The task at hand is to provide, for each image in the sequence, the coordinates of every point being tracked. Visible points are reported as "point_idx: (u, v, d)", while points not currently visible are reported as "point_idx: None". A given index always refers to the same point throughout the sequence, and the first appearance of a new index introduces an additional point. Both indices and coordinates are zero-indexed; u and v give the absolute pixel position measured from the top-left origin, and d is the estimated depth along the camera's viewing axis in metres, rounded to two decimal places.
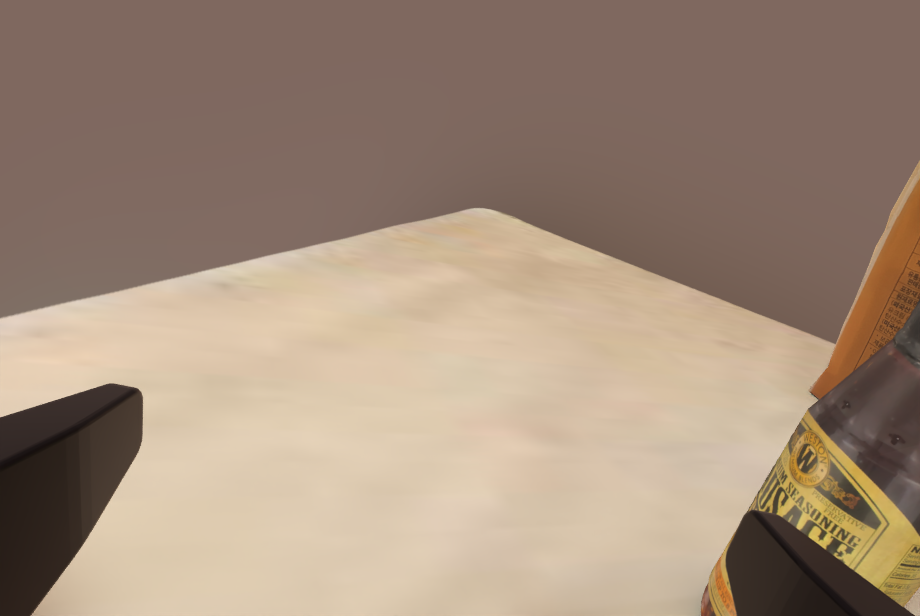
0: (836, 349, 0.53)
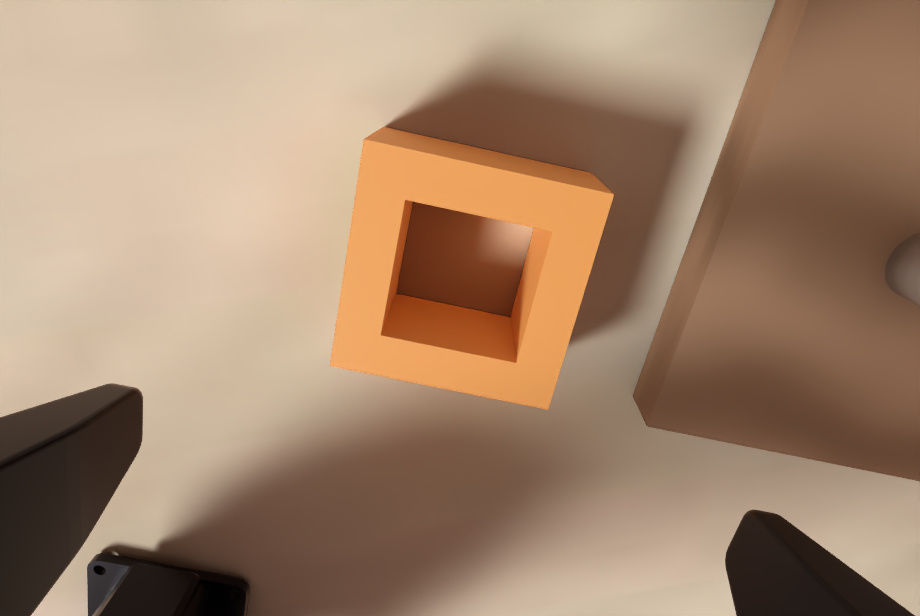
0: None
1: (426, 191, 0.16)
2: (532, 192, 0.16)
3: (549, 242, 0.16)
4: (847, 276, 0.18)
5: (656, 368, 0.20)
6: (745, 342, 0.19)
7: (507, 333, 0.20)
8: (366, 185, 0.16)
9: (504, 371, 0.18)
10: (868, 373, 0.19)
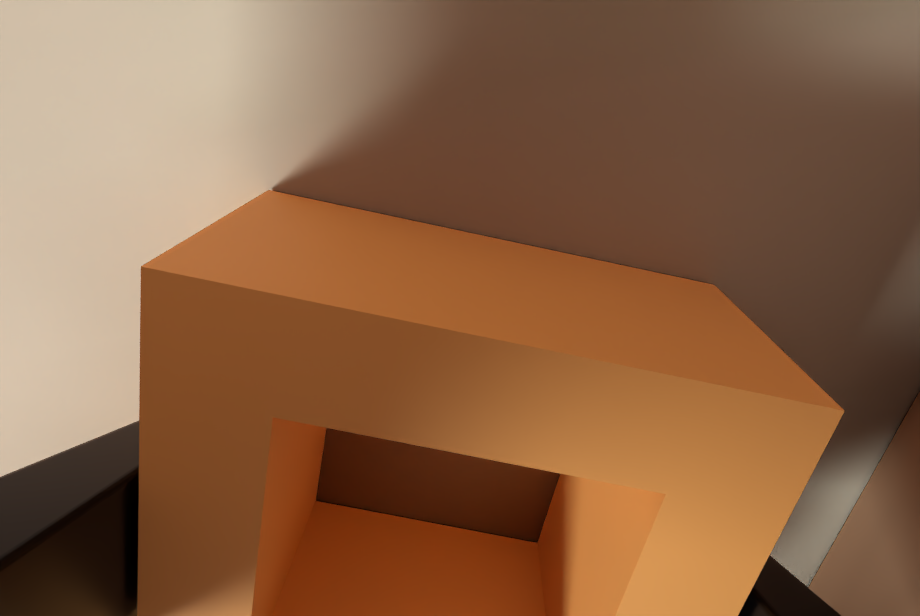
0: None
1: (328, 399, 0.06)
2: (619, 402, 0.06)
3: (655, 516, 0.06)
4: None
5: None
6: None
7: (534, 609, 0.10)
8: (165, 382, 0.06)
9: None
10: None
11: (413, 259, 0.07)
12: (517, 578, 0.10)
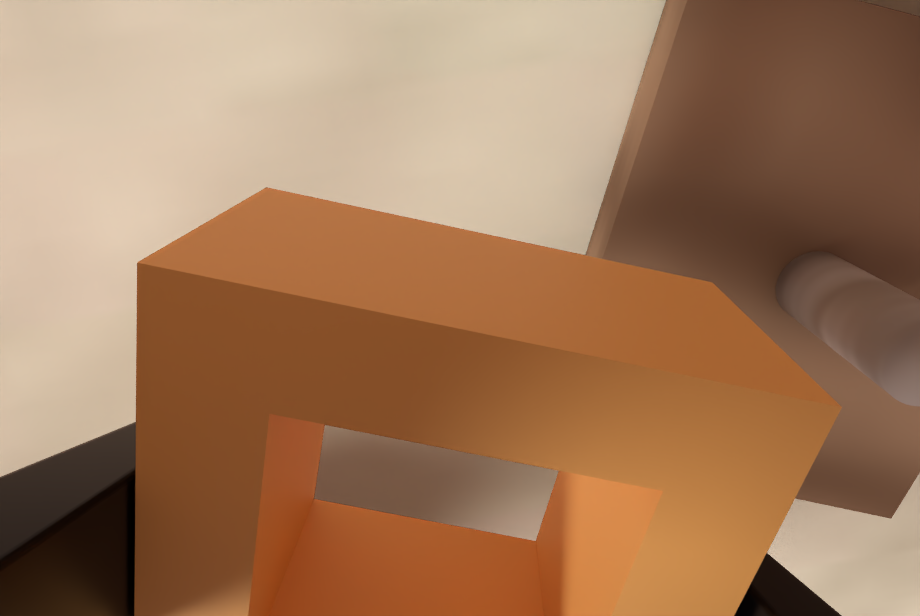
0: None
1: (324, 395, 0.06)
2: (616, 399, 0.06)
3: (652, 512, 0.06)
4: (737, 295, 0.18)
5: None
6: None
7: (532, 607, 0.10)
8: (162, 379, 0.06)
9: None
10: None
11: (410, 256, 0.07)
12: (515, 576, 0.10)
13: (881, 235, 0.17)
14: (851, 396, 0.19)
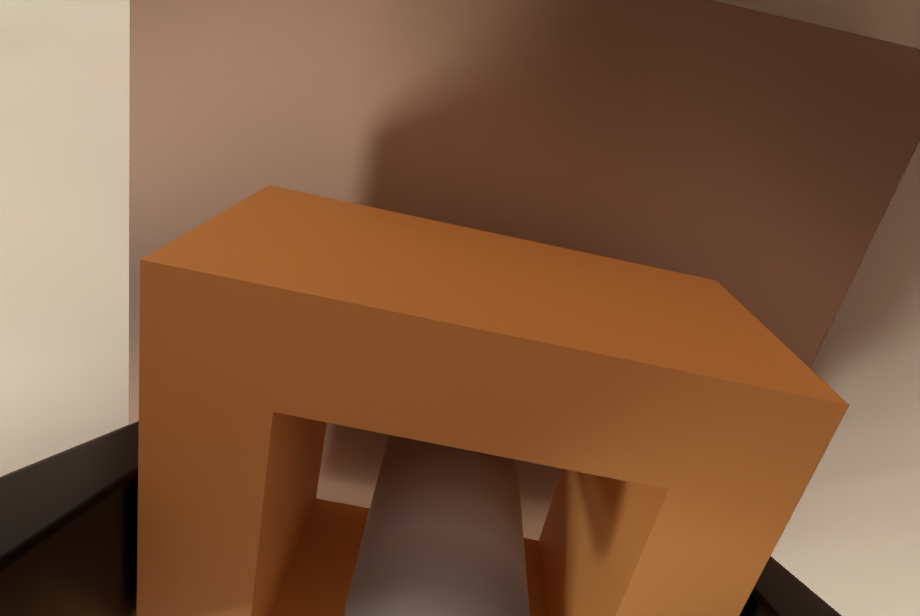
0: None
1: (328, 393, 0.06)
2: (622, 398, 0.06)
3: (657, 511, 0.06)
4: None
5: None
6: None
7: (535, 607, 0.09)
8: (165, 377, 0.06)
9: None
10: None
11: (414, 254, 0.07)
12: None
13: None
14: None
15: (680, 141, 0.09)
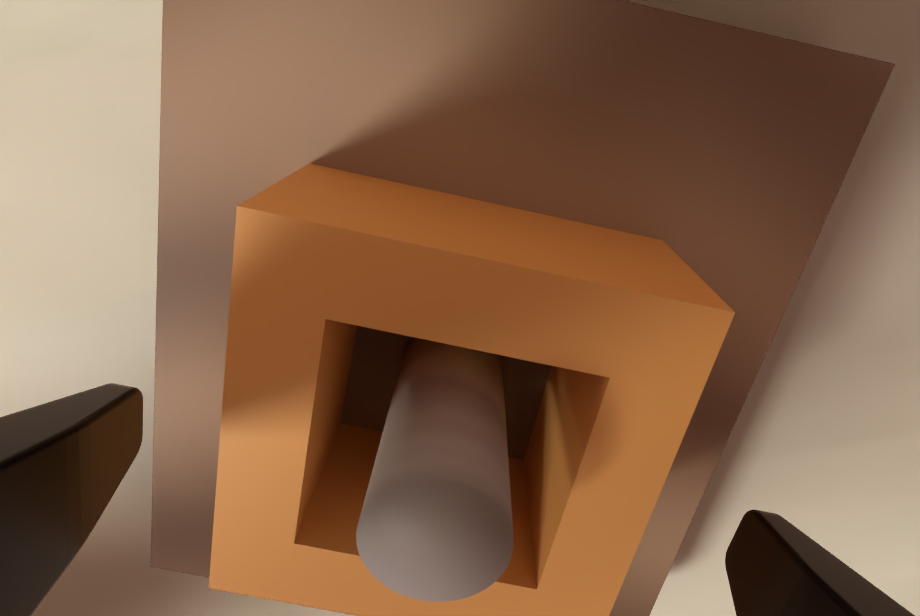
0: None
1: (366, 304, 0.08)
2: (574, 307, 0.08)
3: (604, 395, 0.09)
4: (354, 377, 0.13)
5: None
6: None
7: (519, 503, 0.12)
8: (249, 292, 0.08)
9: (515, 601, 0.10)
10: None
11: (425, 212, 0.09)
12: None
13: None
14: None
15: (650, 137, 0.11)
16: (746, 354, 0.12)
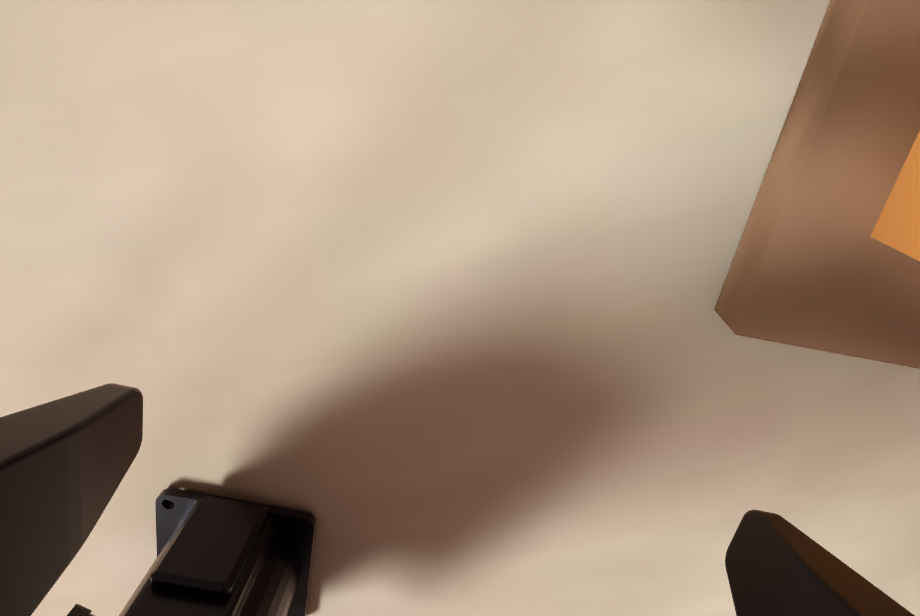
0: None
1: None
2: None
3: None
4: None
5: (744, 274, 0.19)
6: (845, 239, 0.18)
7: None
8: None
9: None
10: None
11: None
12: None
13: None
14: None
15: None
16: None
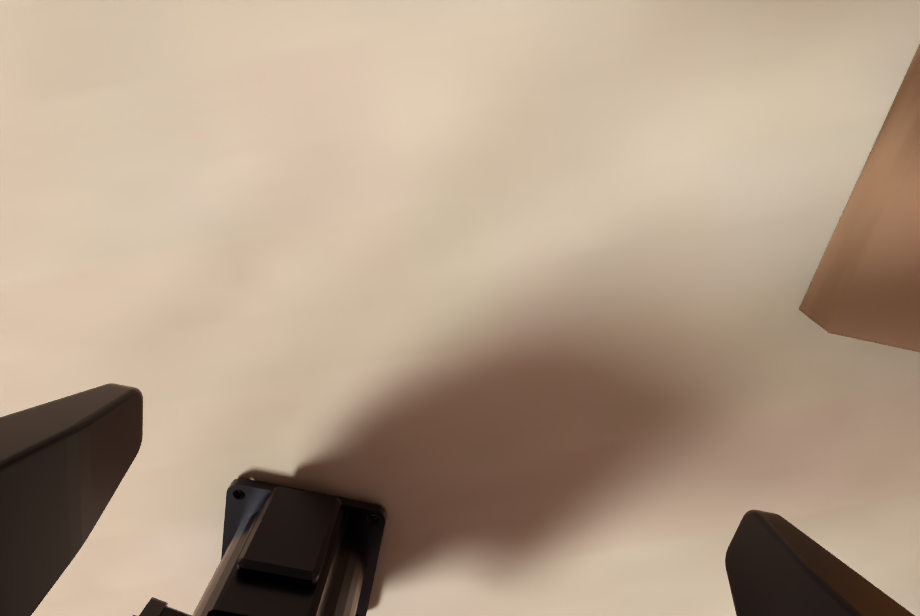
0: None
1: None
2: None
3: None
4: None
5: (836, 274, 0.20)
6: None
7: None
8: None
9: None
10: None
11: None
12: None
13: None
14: None
15: None
16: None
